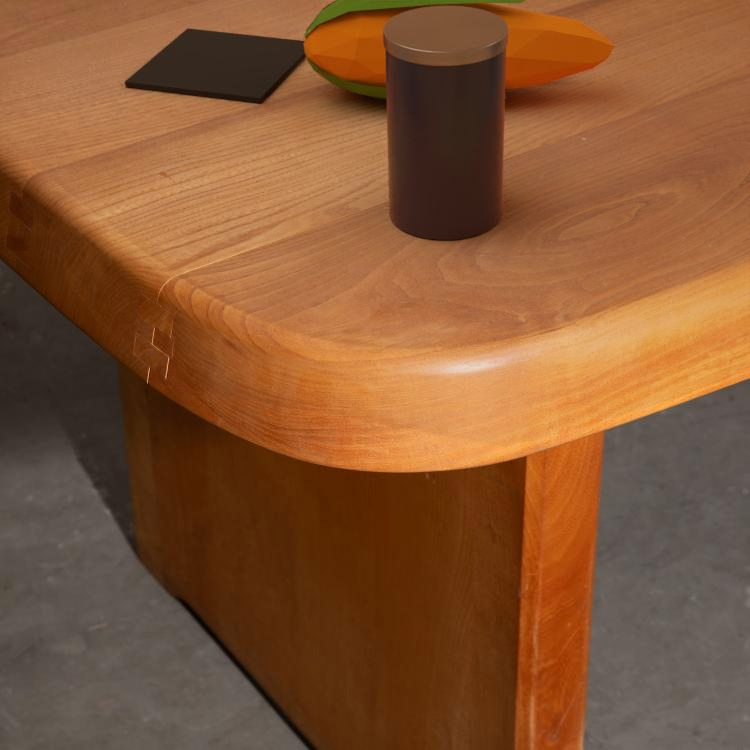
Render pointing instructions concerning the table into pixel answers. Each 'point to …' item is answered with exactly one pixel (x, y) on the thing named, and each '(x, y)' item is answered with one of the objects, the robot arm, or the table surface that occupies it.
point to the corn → (380, 3)
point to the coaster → (220, 65)
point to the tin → (445, 120)
